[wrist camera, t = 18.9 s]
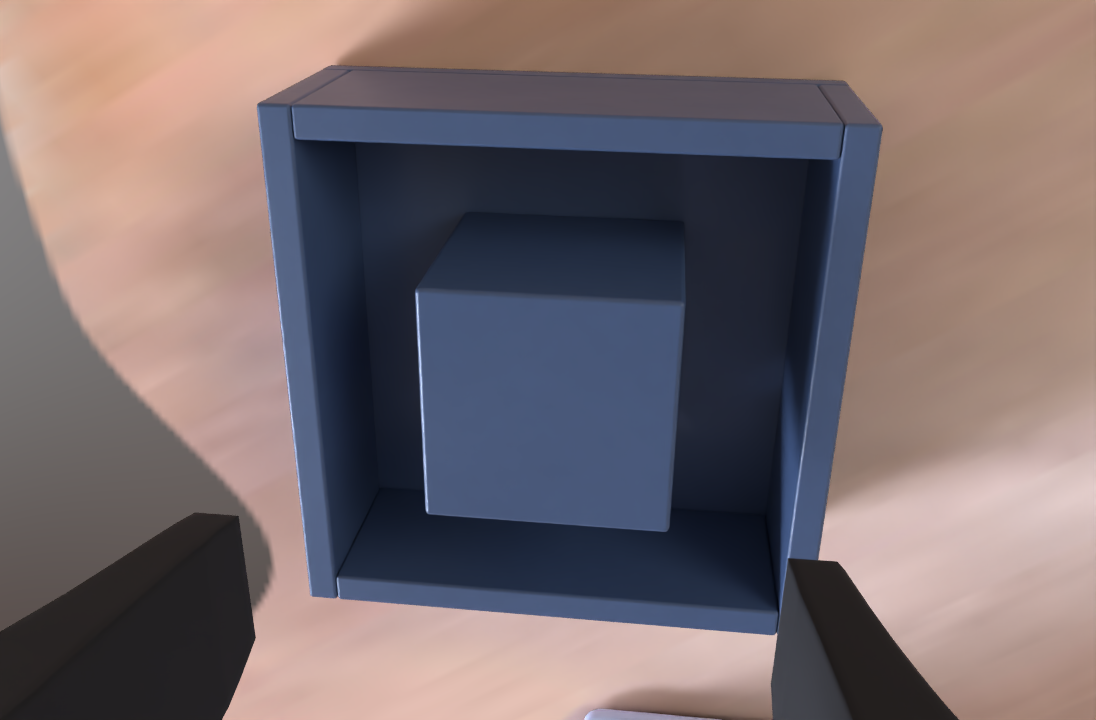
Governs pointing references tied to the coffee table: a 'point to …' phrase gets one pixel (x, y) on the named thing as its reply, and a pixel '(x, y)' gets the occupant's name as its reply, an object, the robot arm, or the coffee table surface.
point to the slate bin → (580, 191)
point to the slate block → (552, 369)
